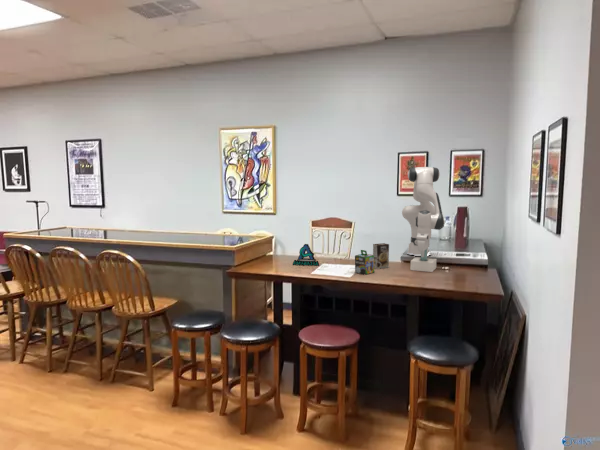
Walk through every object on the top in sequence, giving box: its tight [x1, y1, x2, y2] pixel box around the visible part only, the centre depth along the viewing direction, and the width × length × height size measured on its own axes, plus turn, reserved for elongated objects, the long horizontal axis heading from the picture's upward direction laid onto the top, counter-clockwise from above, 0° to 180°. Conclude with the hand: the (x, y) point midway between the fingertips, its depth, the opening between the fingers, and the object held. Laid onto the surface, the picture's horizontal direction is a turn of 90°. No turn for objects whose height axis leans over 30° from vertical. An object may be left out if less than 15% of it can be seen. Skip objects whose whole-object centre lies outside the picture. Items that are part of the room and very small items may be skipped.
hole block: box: [409, 256, 437, 273], centre depth 275 cm, size 14×14×6 cm
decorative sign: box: [292, 243, 320, 267], centre depth 291 cm, size 19×2×15 cm, turn 76°
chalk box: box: [354, 249, 375, 276], centre depth 266 cm, size 9×9×15 cm
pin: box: [420, 249, 428, 261], centre depth 274 cm, size 4×4×10 cm
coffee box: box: [372, 242, 390, 270], centre depth 280 cm, size 9×6×16 cm
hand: (423, 256), depth 274 cm, fingers closed on pin, 4 cm apart
